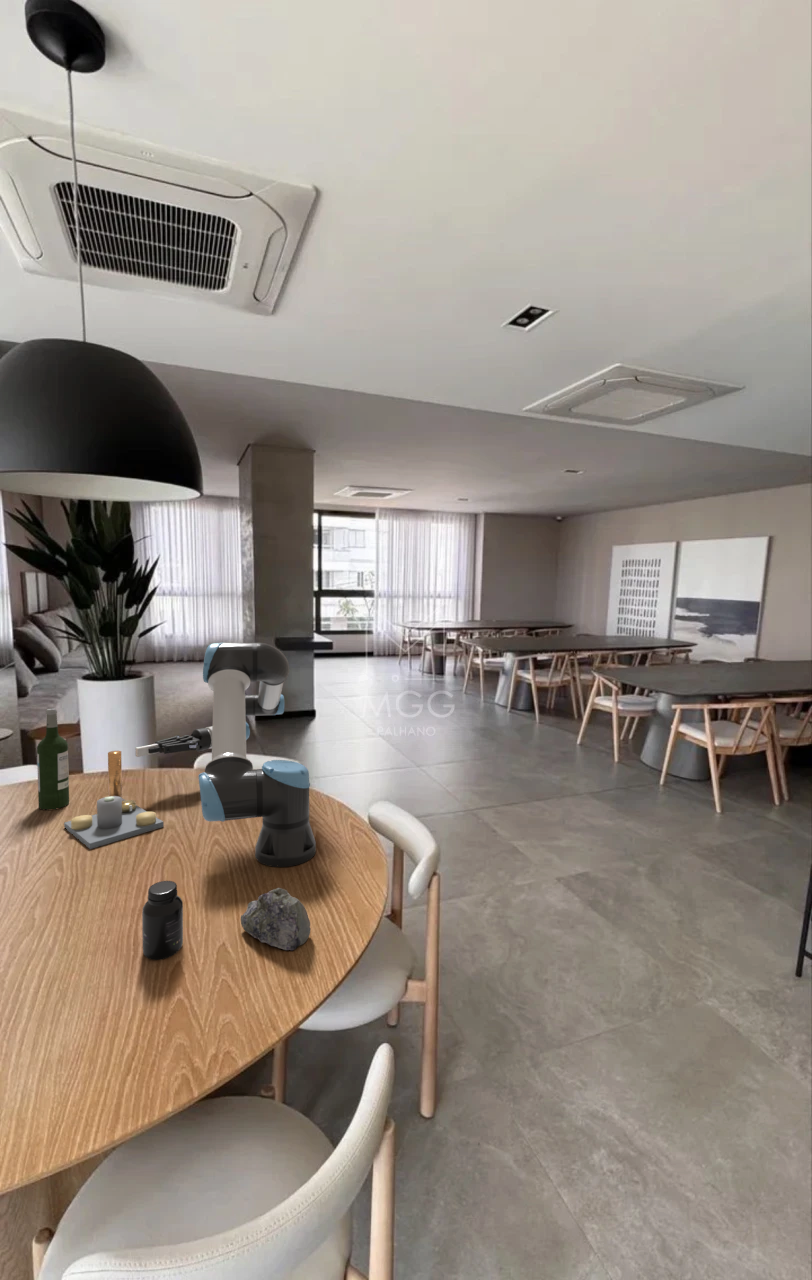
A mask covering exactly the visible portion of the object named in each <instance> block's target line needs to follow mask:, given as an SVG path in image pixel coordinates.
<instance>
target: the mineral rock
mask: <svg viewBox="0 0 812 1280" xmlns="http://www.w3.org/2000/svg"><path fill="white" fill-rule="evenodd" d="M240 925H241V927H242V928H243V930H244V931H245V932H246V934H247V933H248V934H249V935H250V936H251V937H253V938H254V939H257V940H259V941H260V943H266V944H267V945H269V946H271V947H275V948H278V949H282V950H284V951H289V950H290V951H295V950H296V949H297V948H298V947H299V946H303V945H304V944H305V943H306V942H307V941H308V940H309V939H308V938H309V937H310V935H311V921H310V918H309V914H308V911H307V909H306V907H305V906H304V904H303V903H302V902H301V901H300V900H299V899H298V898H296V897H295V896H294V897H293V896H292V895H291V894H290V893H289V892H288V890H287V889H285V888H281V887H277V888H274V889H272V890H269V891H268V892H266V893H262V894H261V895H259V896H258V898H257V899H256V900H252V901H250V902H249V903H248V904H247V908H246V910H245V912H244V913H243V914H241V915H240Z"/></svg>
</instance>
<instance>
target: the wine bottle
mask: <svg viewBox="0 0 812 1280" xmlns="http://www.w3.org/2000/svg"><path fill="white" fill-rule="evenodd" d="M45 715H46V721H45V722H46V723H45V726H46V727H45V728H46V729H45V731H46V732H45V733H46V734H45V737H44V738H42V739H41V740H40V741H39V742H38V744H37V747H36V756H37V757H36V759H37V761H36V763H37V765H36V767H37V796H38V798H37V799H38V808H39V809H40V808H41V809H40V810H42V809H55V810H57V809H56V808H59V809H62V808H65V807H66V805H67V806H68V805H69V803H70V781H69V780H70V778H69V777H70V776H69V775H70V773H69V744H68V742H67V740H66V739H65V738H63V737H62V736H60V734H59V726H58V710H57V708H47V709H46V710H45ZM64 806H65V807H64ZM61 807H62V808H61Z"/></svg>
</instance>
